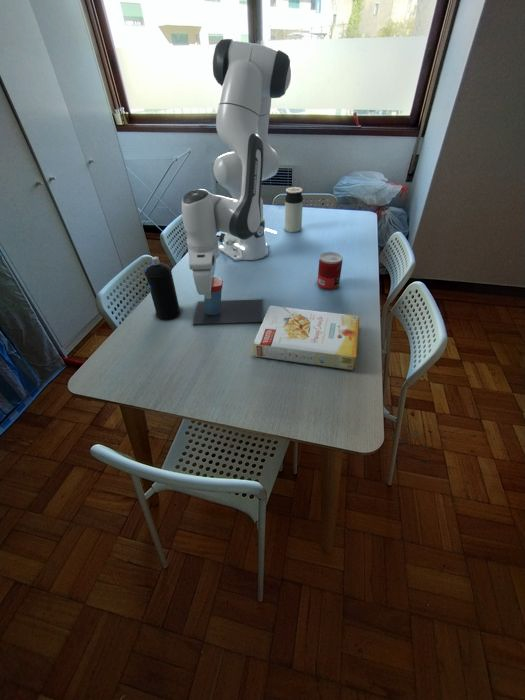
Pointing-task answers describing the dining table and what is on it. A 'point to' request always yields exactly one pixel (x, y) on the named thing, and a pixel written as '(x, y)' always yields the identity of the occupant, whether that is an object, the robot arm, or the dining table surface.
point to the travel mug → (293, 209)
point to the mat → (231, 313)
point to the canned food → (329, 270)
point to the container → (214, 298)
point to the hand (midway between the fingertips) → (209, 291)
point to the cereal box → (308, 337)
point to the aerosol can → (162, 290)
